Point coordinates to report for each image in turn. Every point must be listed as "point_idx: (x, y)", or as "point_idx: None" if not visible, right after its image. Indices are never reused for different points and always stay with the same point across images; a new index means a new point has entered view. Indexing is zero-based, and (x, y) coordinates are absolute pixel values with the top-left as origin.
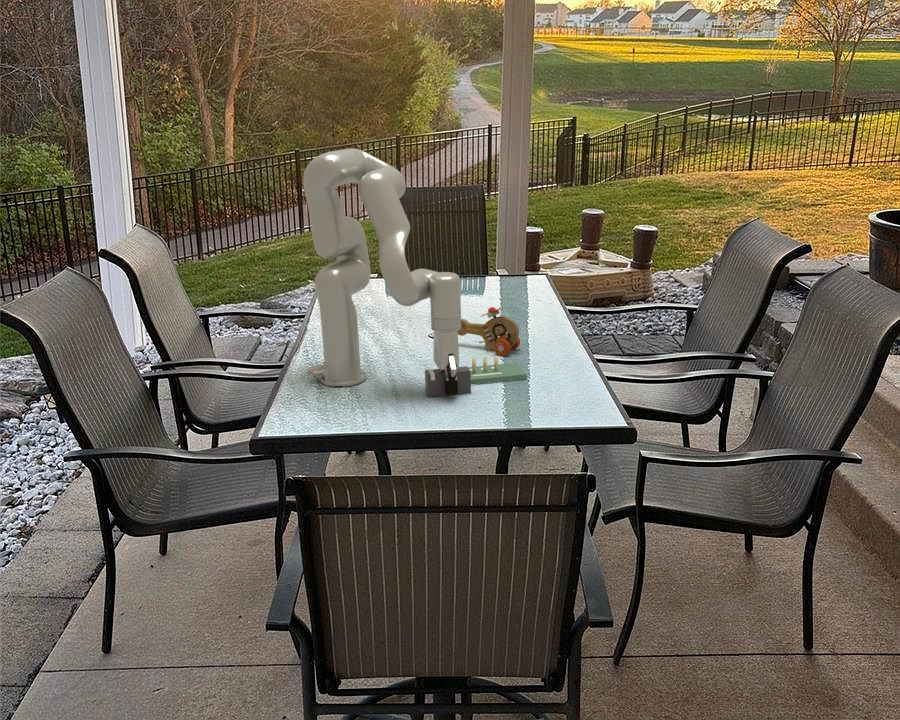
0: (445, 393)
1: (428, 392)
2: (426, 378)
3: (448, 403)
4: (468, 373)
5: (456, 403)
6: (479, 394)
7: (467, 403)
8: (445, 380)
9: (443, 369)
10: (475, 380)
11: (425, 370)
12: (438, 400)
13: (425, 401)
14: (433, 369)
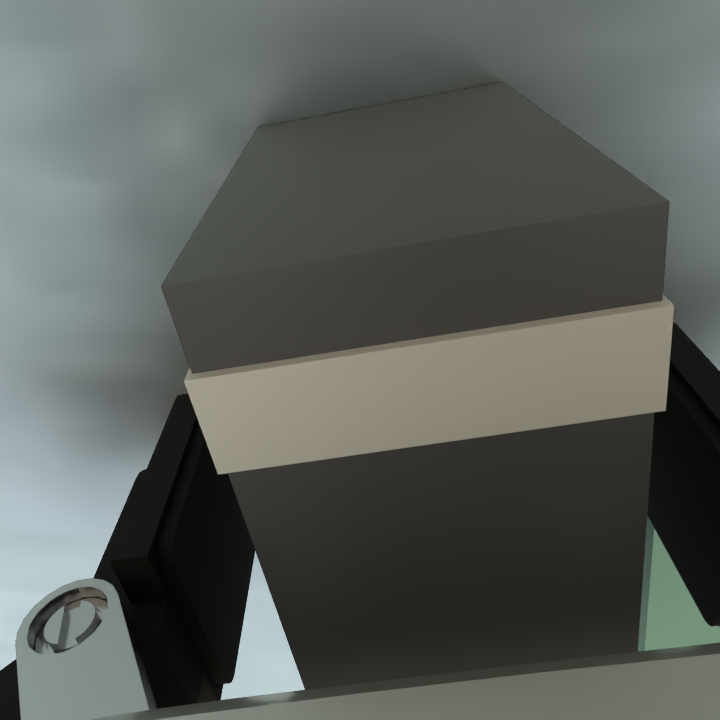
0: (172, 409)
1: (249, 150)
2: (390, 187)
3: (38, 390)
4: None
5: (51, 469)
6: None
7: (66, 560)
8: (131, 569)
9: (568, 629)
10: None
11: (631, 223)
12: (138, 274)
13: (78, 72)
14: (646, 444)
